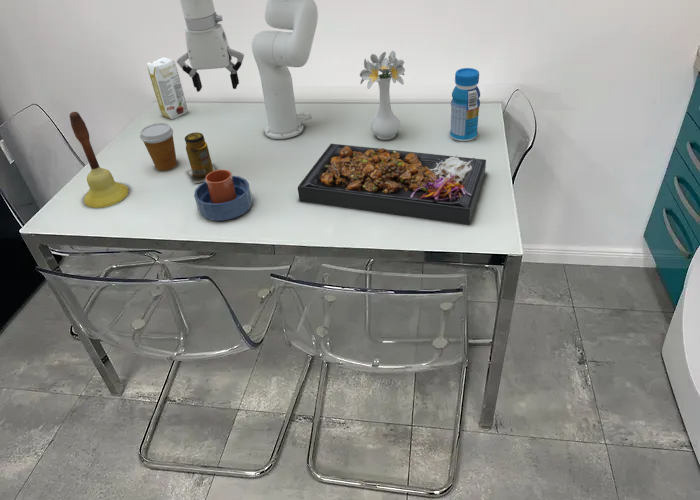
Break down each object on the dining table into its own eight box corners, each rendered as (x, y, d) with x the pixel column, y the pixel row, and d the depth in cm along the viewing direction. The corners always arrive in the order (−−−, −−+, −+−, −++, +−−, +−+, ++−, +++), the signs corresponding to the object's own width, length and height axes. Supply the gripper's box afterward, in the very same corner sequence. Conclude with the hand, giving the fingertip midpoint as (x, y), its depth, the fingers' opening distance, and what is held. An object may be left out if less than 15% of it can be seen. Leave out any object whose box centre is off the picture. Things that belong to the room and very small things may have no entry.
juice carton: (191, 112, 201) (177, 59, 189) (171, 121, 196) (155, 67, 184) (178, 107, 205) (164, 55, 193) (158, 116, 200) (142, 63, 188)
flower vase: (407, 121, 183) (406, 43, 168) (403, 148, 169) (402, 66, 153) (367, 121, 185) (363, 44, 170) (360, 148, 171) (355, 67, 155)
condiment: (212, 165, 169) (202, 128, 162) (219, 177, 163) (210, 139, 156) (188, 171, 167) (177, 134, 160) (194, 184, 161) (184, 146, 153)
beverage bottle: (447, 141, 171) (450, 76, 158) (451, 128, 177) (454, 65, 165) (475, 143, 168) (480, 78, 156) (479, 130, 175) (484, 67, 162)
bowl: (242, 187, 158) (238, 169, 155) (260, 211, 148) (257, 193, 144) (192, 203, 153) (187, 185, 150) (208, 229, 143) (203, 211, 140)
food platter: (484, 173, 155) (488, 139, 148) (469, 224, 137) (471, 188, 130) (332, 156, 168) (328, 124, 162) (299, 200, 150) (294, 167, 144)
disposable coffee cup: (174, 174, 166) (163, 137, 159) (145, 173, 168) (132, 136, 161) (187, 158, 174) (177, 122, 166) (159, 157, 175) (148, 121, 168)
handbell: (136, 184, 163) (107, 103, 148) (115, 208, 154) (82, 124, 138) (98, 183, 165) (65, 103, 150) (75, 207, 156) (37, 123, 140)
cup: (233, 195, 154) (226, 166, 148) (241, 207, 149) (234, 177, 143) (209, 203, 151) (202, 174, 146) (217, 215, 147) (210, 185, 141)
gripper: (238, 14, 141) (251, 80, 152) (171, 19, 142) (188, 84, 153) (233, 24, 135) (247, 91, 146) (163, 29, 136) (182, 96, 147)
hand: (217, 88), depth 149 cm, fingers open, 9 cm apart
